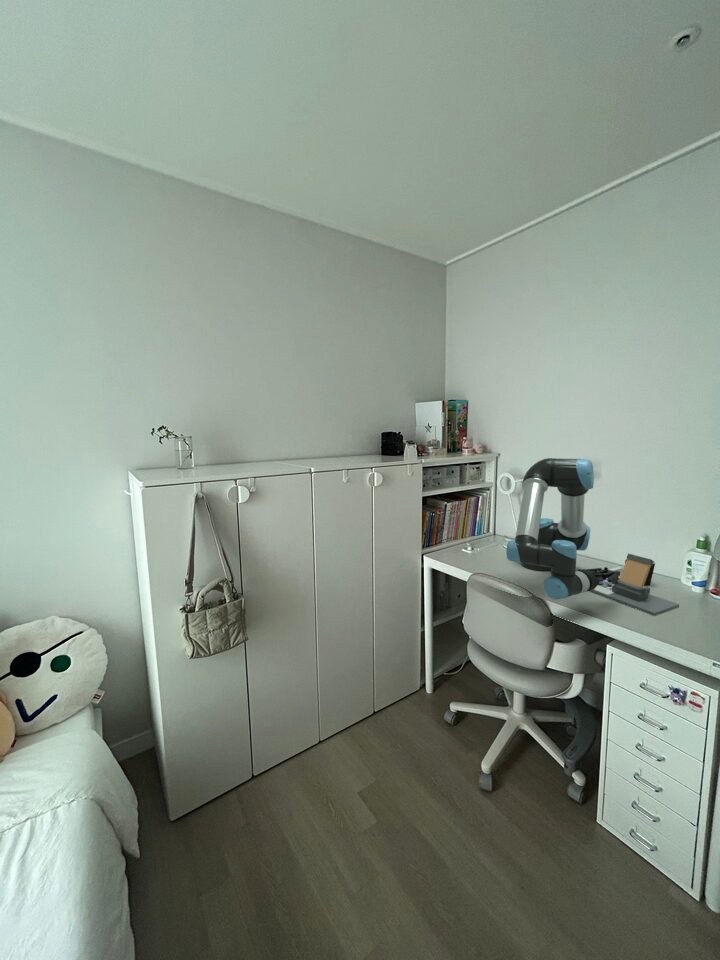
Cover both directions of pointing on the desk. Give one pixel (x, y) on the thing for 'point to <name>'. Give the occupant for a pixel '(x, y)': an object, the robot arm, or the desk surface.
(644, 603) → the switch unit
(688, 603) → the desk surface
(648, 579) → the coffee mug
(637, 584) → the paddle lever
